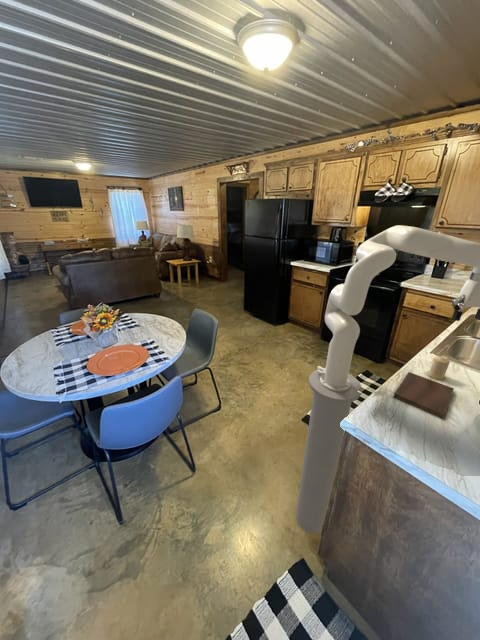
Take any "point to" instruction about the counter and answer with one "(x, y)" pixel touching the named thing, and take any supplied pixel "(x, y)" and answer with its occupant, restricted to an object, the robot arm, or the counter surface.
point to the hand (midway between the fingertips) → (467, 319)
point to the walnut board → (424, 394)
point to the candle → (439, 367)
